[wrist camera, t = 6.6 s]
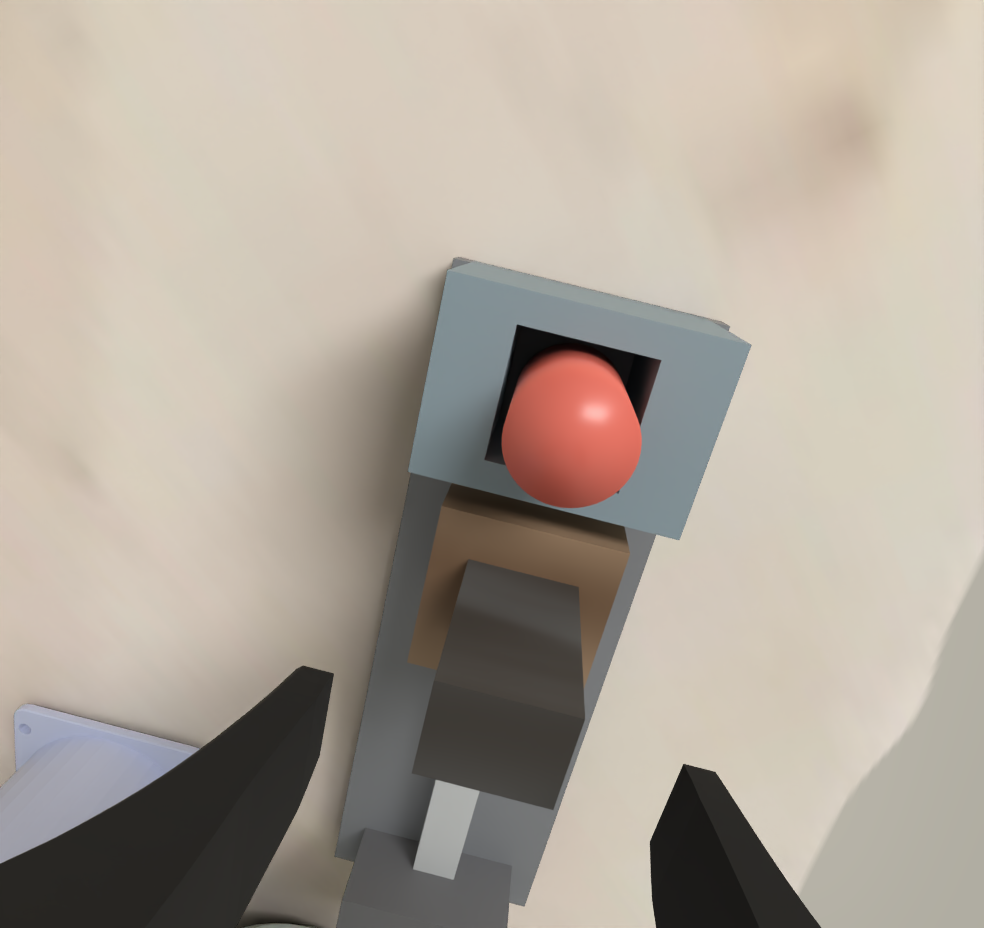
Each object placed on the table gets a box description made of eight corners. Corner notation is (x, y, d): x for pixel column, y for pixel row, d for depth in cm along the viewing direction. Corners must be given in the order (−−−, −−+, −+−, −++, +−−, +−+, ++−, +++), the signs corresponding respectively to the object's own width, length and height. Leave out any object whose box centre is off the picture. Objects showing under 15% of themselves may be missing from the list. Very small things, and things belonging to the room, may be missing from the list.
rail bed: (525, 883, 28) (518, 1016, 23) (342, 835, 28) (297, 958, 23) (722, 321, 19) (773, 350, 15) (458, 257, 19) (426, 264, 15)
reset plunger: (606, 459, 17) (618, 522, 14) (504, 434, 17) (487, 489, 14) (637, 358, 16) (660, 395, 13) (529, 330, 16) (520, 360, 13)
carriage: (576, 653, 21) (583, 867, 14) (424, 614, 21) (355, 807, 14) (621, 514, 19) (656, 678, 12) (456, 472, 19) (395, 611, 12)
